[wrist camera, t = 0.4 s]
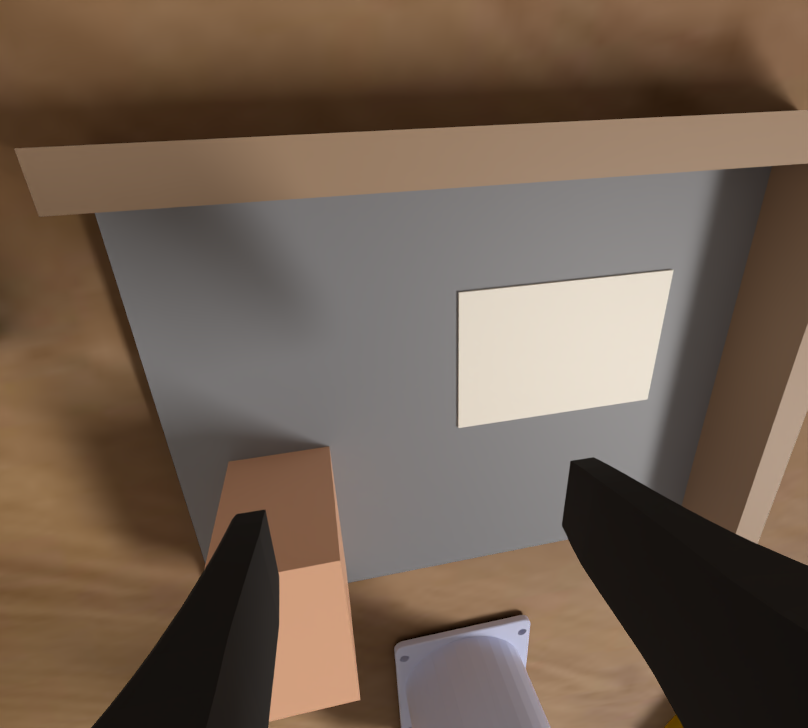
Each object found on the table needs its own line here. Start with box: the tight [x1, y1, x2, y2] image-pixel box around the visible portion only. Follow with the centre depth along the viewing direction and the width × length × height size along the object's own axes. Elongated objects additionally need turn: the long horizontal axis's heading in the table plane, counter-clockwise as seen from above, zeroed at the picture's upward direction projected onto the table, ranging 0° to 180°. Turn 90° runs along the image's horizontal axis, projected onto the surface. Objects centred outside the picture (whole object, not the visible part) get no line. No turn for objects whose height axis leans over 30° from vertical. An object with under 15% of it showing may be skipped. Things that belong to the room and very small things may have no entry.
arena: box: [14, 110, 808, 583], centre depth 19 cm, size 20×26×4 cm
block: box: [204, 446, 360, 722], centre depth 18 cm, size 7×4×6 cm, turn 3°
